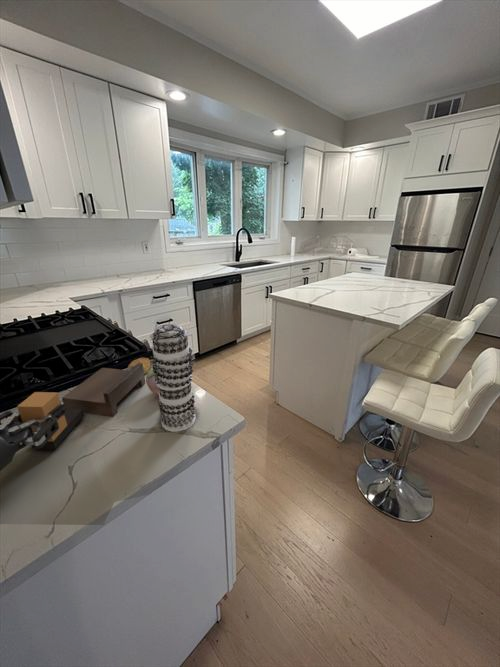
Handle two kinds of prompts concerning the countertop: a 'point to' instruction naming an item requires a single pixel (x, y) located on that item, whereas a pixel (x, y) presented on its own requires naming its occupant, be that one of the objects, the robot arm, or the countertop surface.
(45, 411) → the two-tone stepped block
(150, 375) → the decorative fruit
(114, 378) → the dark wooden riser stand
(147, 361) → the pastry
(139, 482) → the countertop surface
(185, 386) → the decorative candle
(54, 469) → the countertop surface
